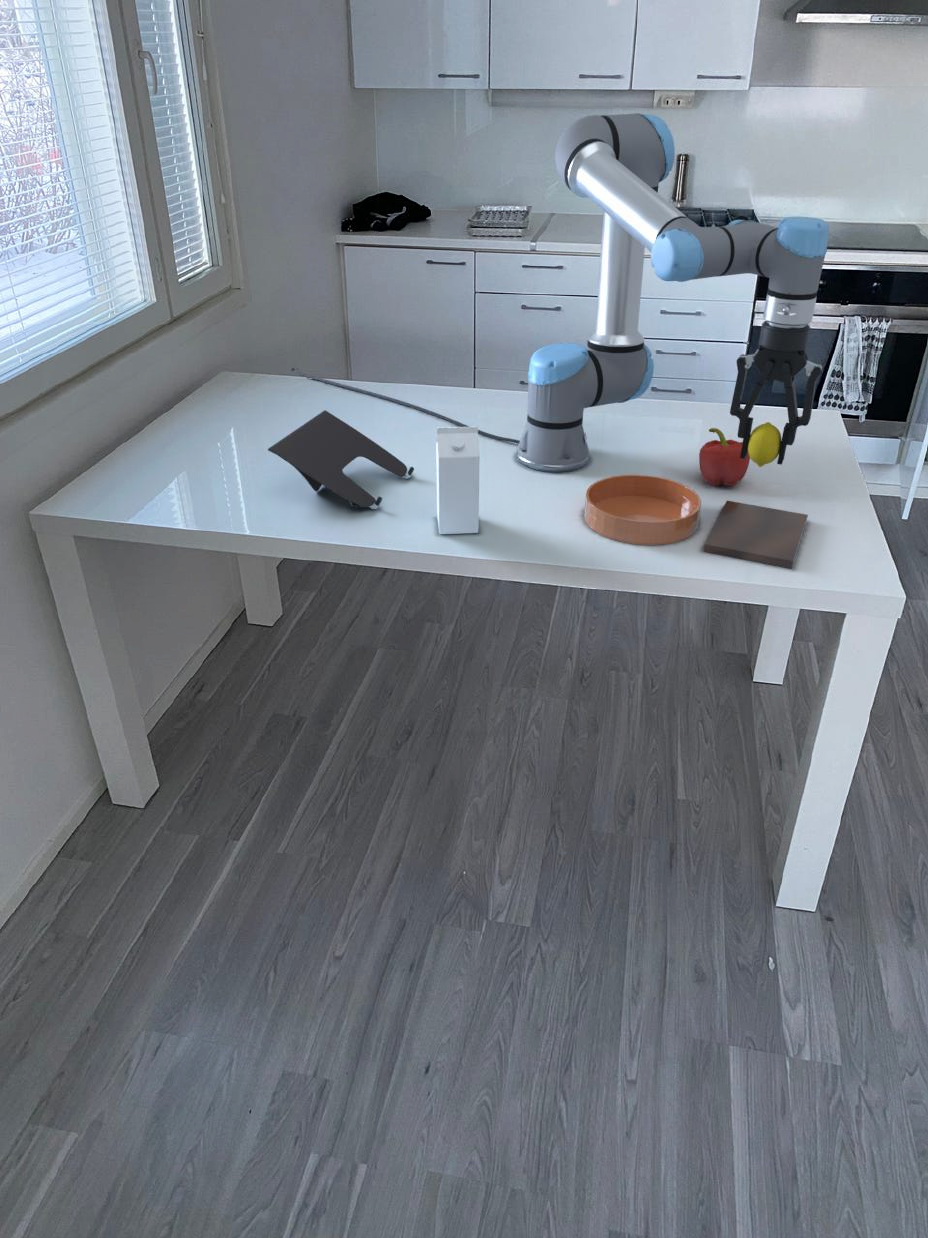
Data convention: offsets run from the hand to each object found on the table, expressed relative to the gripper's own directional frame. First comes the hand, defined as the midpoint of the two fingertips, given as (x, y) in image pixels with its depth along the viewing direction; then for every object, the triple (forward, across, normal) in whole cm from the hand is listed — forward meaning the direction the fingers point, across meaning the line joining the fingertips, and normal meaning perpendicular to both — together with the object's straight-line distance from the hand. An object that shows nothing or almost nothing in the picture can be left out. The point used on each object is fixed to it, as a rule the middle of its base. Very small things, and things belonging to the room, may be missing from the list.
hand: (761, 458), depth 162 cm
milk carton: (+15, -49, -19) cm, 55 cm away
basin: (+15, -20, -2) cm, 25 cm away
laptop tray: (+15, -76, -12) cm, 79 cm away
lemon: (+2, 0, 0) cm, 2 cm away
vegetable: (+15, -10, +22) cm, 29 cm away
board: (+15, +2, 0) cm, 15 cm away
